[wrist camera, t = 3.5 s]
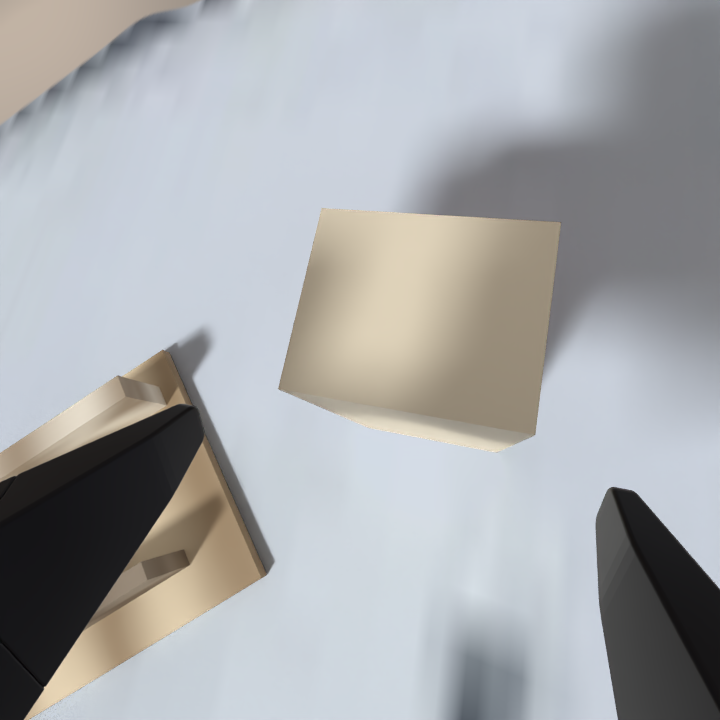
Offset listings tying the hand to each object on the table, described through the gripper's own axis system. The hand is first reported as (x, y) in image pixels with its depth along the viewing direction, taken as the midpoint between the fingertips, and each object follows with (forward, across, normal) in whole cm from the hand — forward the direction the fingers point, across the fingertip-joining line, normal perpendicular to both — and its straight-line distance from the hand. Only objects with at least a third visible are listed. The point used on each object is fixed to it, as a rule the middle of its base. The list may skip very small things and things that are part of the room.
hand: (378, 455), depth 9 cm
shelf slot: (+4, +16, +13) cm, 21 cm away
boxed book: (+11, 0, +6) cm, 12 cm away
